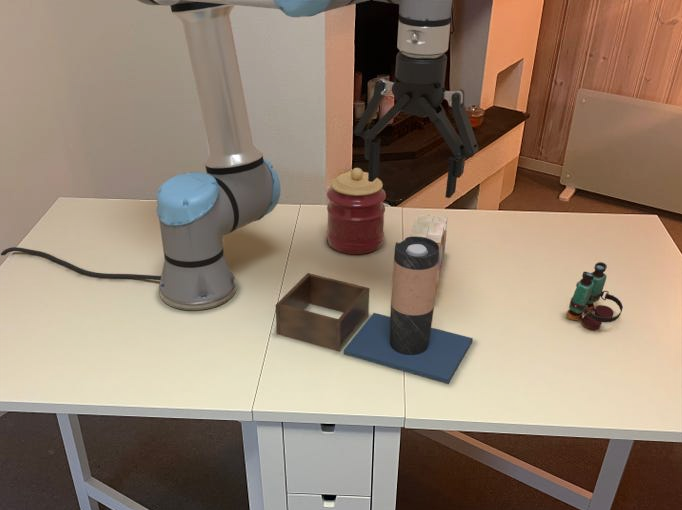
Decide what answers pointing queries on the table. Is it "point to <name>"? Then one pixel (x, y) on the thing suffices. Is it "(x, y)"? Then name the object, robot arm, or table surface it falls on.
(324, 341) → the cube shelf
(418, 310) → the travel mug
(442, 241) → the stack of blocks
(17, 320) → the table surface
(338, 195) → the kitchen canister
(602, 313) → the binoculars
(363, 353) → the mat
